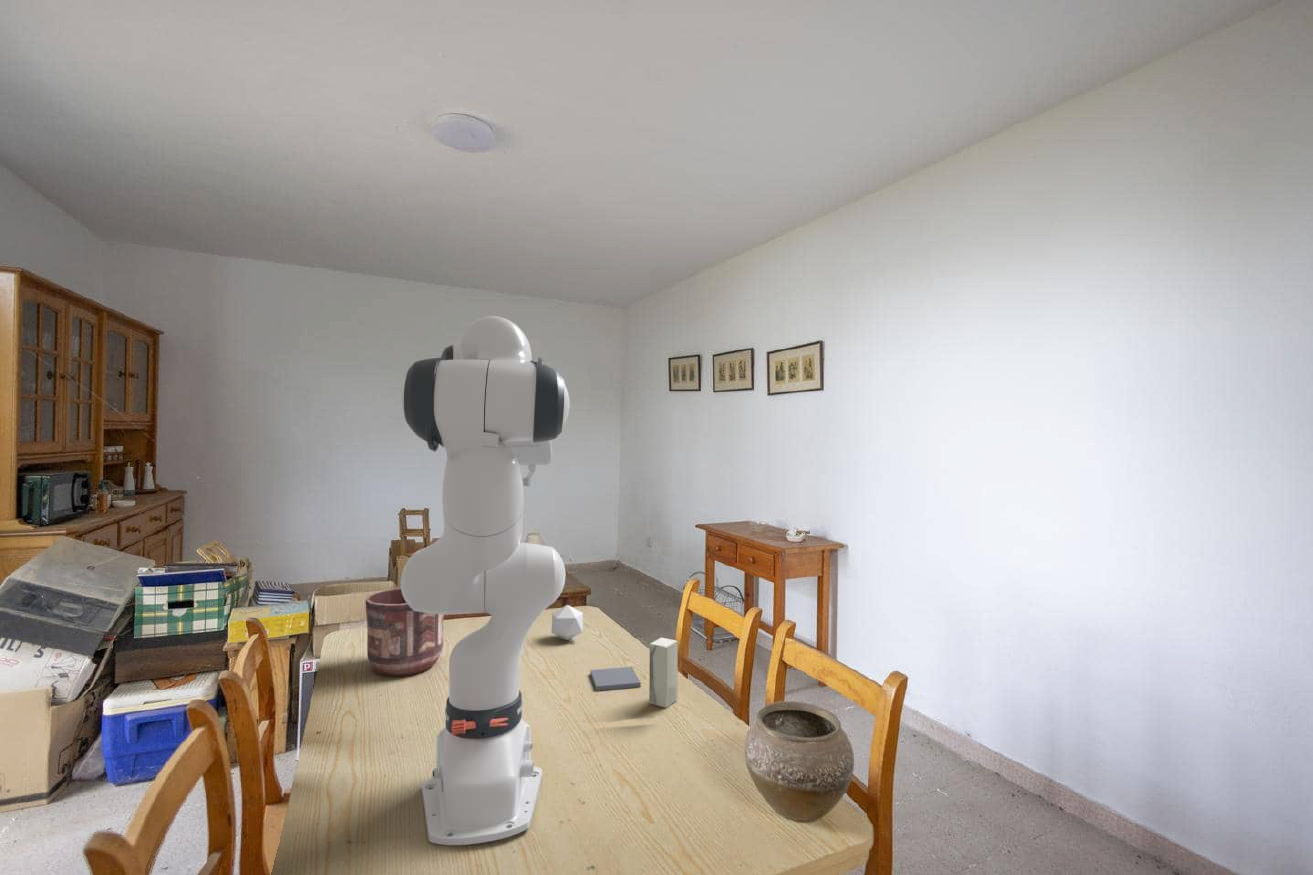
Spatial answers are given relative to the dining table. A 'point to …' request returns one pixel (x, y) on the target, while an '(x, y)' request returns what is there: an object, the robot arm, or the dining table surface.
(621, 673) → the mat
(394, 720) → the dining table surface
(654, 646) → the box
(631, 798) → the dining table surface
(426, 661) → the pottery
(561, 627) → the die
